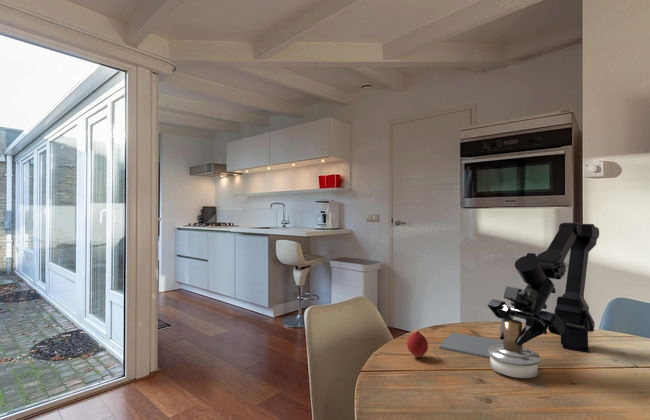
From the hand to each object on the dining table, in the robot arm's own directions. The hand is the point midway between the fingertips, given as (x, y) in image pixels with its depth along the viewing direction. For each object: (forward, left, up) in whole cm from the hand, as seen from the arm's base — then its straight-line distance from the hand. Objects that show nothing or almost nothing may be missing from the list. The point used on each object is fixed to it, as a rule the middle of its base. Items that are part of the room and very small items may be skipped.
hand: (509, 341), depth 91 cm
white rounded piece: (-1, -1, -8) cm, 8 cm away
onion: (+23, +4, -8) cm, 25 cm away
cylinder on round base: (-1, -1, -4) cm, 4 cm away
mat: (+12, -15, -8) cm, 21 cm away
